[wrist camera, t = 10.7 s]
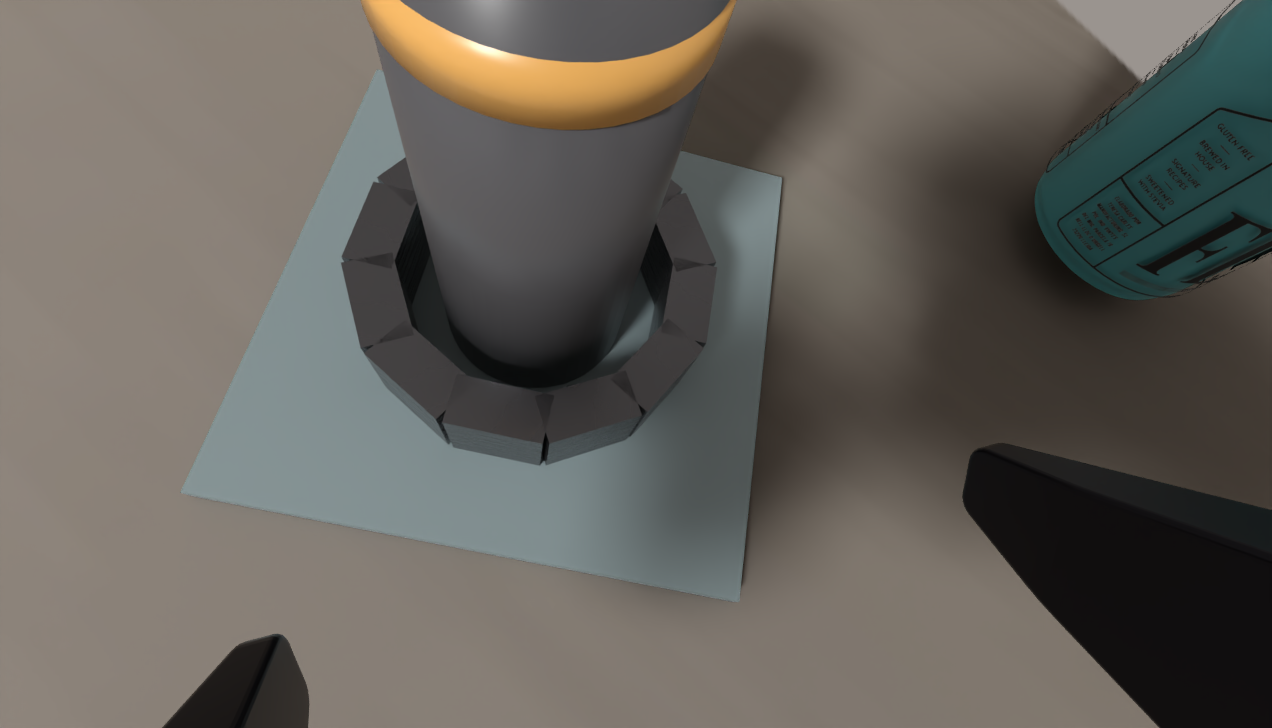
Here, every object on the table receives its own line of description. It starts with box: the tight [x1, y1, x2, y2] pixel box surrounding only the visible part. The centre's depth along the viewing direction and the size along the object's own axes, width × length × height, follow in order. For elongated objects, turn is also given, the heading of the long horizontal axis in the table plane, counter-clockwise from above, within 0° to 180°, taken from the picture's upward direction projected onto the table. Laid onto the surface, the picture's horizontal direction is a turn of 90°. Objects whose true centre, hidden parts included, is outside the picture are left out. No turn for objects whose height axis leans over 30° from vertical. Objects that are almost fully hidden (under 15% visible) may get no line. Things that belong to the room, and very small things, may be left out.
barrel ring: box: [341, 157, 717, 466], centre depth 17 cm, size 9×9×2 cm
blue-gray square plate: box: [180, 70, 782, 602], centre depth 18 cm, size 14×14×1 cm
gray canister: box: [361, 0, 736, 388], centre depth 12 cm, size 5×5×13 cm
